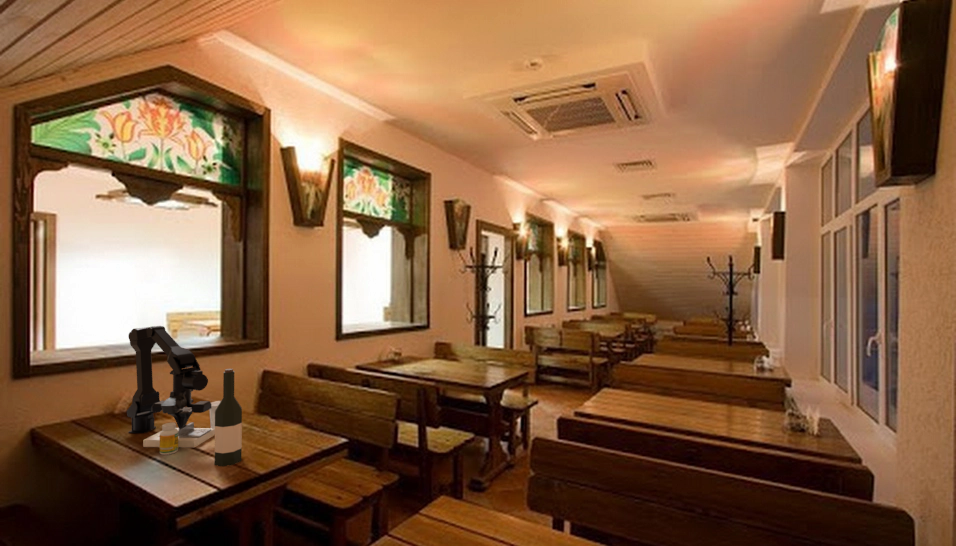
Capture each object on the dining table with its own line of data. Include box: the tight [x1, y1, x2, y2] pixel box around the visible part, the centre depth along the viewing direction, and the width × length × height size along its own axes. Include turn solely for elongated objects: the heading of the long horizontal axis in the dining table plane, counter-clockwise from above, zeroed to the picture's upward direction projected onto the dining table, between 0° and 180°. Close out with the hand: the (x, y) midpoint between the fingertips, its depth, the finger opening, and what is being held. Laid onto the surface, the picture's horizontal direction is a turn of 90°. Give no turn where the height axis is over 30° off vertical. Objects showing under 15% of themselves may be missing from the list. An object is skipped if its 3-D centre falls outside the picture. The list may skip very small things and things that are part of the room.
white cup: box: [209, 399, 222, 428], centre depth 188 cm, size 8×8×10 cm
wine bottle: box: [214, 368, 243, 467], centre depth 156 cm, size 8×8×30 cm
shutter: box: [178, 421, 211, 438], centre depth 174 cm, size 8×8×3 cm
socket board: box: [142, 427, 215, 448], centre depth 174 cm, size 18×13×2 cm
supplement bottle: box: [159, 422, 179, 456], centre depth 163 cm, size 5×5×10 cm
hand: (181, 430), depth 174 cm, fingers closed
